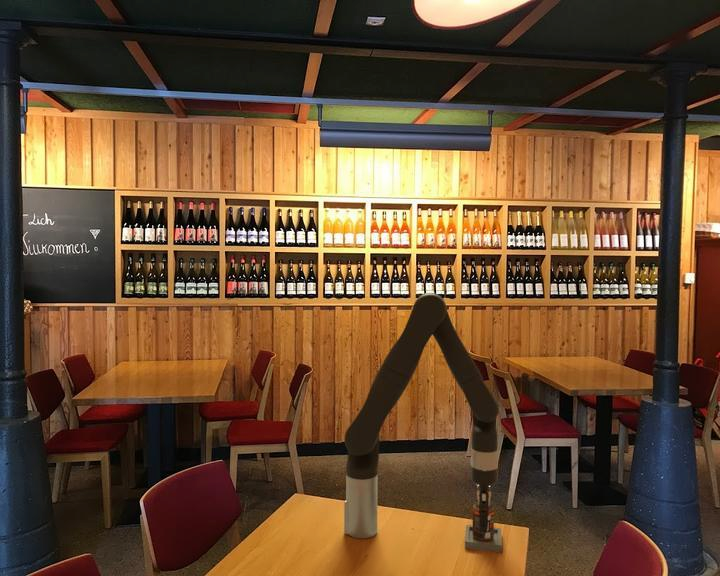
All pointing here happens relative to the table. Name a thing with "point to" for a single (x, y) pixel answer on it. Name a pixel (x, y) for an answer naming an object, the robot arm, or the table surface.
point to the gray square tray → (483, 545)
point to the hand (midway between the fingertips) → (483, 520)
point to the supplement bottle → (478, 532)
